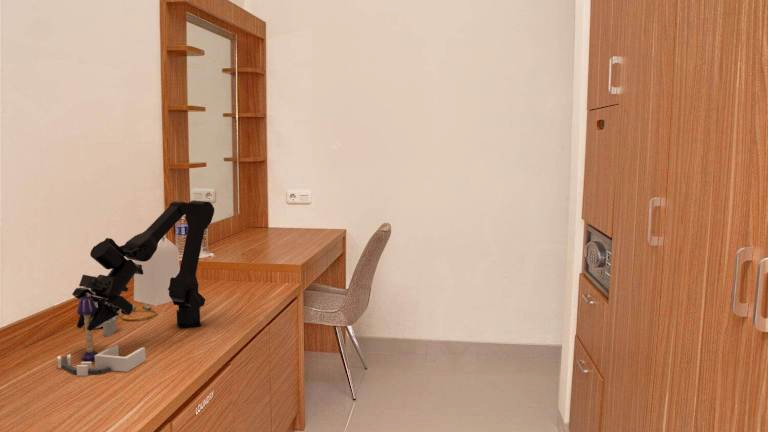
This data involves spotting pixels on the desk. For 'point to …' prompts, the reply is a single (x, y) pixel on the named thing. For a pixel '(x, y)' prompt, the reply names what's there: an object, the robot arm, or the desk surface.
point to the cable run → (90, 371)
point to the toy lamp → (86, 309)
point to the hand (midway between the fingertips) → (83, 328)
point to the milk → (157, 274)
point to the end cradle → (119, 359)
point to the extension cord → (139, 311)
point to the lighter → (110, 326)
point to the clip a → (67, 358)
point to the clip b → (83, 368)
